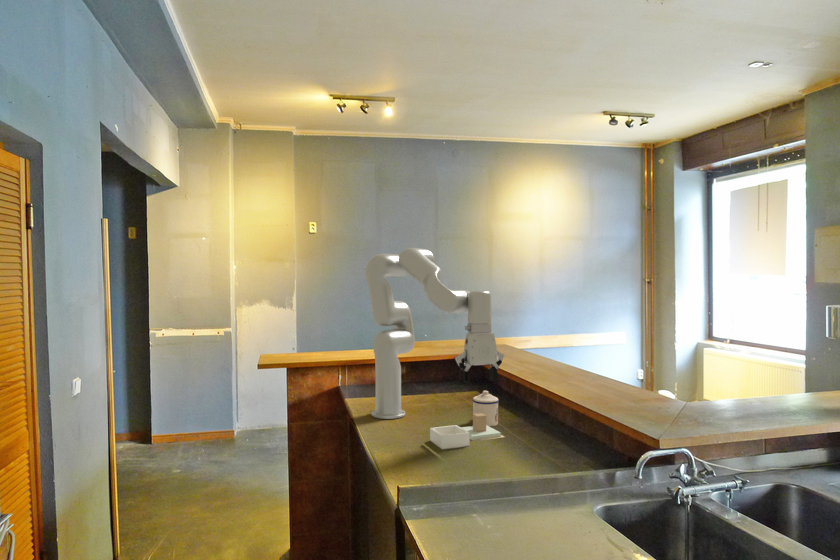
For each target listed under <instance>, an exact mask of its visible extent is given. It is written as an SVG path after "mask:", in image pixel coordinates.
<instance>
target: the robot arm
mask: <svg viewBox="0 0 840 560" xmlns="http://www.w3.org/2000/svg"><path fill="white" fill-rule="evenodd" d="M408 276H409V277H410V276H411V277H412V278H414V279H415V280H416V282H418V283H419V284H420V285H422V286H423V290H424V293H425V296H426V298H427V299H428V300H429V301H430V303H432V304H433V305H434V306H435V307H436V308H438V309H439V310H440V311H442V312H443V313H447V314H454V313H455V314H459V313H460V314H461V313H467V325H464V330H465V331H467V332H466V334H465V338H464V344H463V345H464V347H463V348H464V349H463V352H460V354H458V355H457V356H455V357H454V359H455V362H456V364H457V366H458V367H459V369H461V371H462V381H463V383H465V384H467V385H469V384H470V383H471V375H470V374H471V371H470V368H471V367H472V366H484V365H490V368H489V380H490V381H493V382H497V379H498V369H500V365H501V364H503V363H502V362H503V359H504V358H505V354H504V353H502V352H499V350H498V349H497V340H496V337H495V332H492V294H491V292H490V291H488V290H467V289H450V288H448V287H447V286H446V285H444V284H443V283H442V282H441V281H440V279H441V276H442V270H441V268H440V267H439V266H438V265H437V264H436V263H435V256H434V254H433V253H432V251H430V250H429V249H427V248H421V247H420V248H419V247H408V248H407V247H406V248H404V249H403V250H402V251H400V253H399V254H397V253H395V254H393V253H379V254H376V255H373V256H371V258H370V259H369V260H368V262H367V264H366V267H365V279H366V282H367V286H368V290H369V296H370V305H371V311H372V319H373V321H374V323H375V325H376V326H379V327H393V329H386V330H381V331H379V332H378V333H376V334H375V335H374V337H373V340H372V347H373V348H372V349H373V353H374V360H375V361H374V363H375V365H374V366H375V368H374V369H375V370H374V371H375V409H373V410H372V411H371V413H370V414H371V416H372V417H373V418H376V419H380V420H382V419H383V420H394V419H400V418H403V417H404V416H406V411H405V409H402V365H401V362H400V359H399V358H398V355H402V354H407V353H409V352H411V351H412V350H413V349H414V347H415V344H416V337H415V329H414V323H413V317H412V315H413V314H412V311H411V309H410V306H409V305H408V304H407V303H406V302H404V301H402V300H395V299H394V294H393V289H392V286H391V284H390V282H389V281H388V279H387V278H388V277H390V278H391V277H398V278H399V277H408ZM463 360H464V363H463V362H462V361H463Z"/></svg>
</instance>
